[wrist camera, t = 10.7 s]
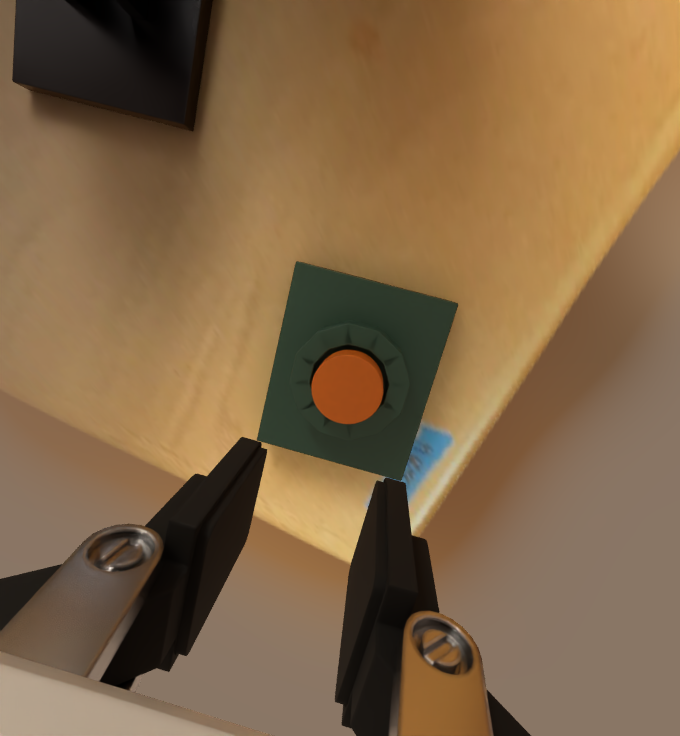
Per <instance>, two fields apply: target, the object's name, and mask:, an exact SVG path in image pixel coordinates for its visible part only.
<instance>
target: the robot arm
mask: <svg viewBox="0 0 680 736" xmlns="http://www.w3.org/2000/svg"><path fill="white" fill-rule="evenodd" d="M261 445H262V444H261V442H258V441H255V440H251V439H248V438H244V437H241V438H240V439H239V440H238V442H237V443H236V444H235V445H234V446H233V447H232V448H231V450H230V451H229V452H228V453H227V454H226V455H225V456H224V458H223V459H222V460H221V461H220V462H219V463H218V464H217V465H216V467H215V468H214V469H213V470H212V471H211V472H210V473H209V475H208V476H204V475H200V474H195V475H193V476H192V477H191V478H190V479H189V480H188V481H187V482H186V483H185V484H184V485H183V487H182V488H181V489H180V490H179V491H178V492H177V493H176V494H175V495H174V496H173V497H172V498H171V499H170V500H169V501H168V502H167V503H166V504H165V506H164V507H163V508H162V509H161V510H160V511H159V512H158V513H157V514H156V515H155V516H154V517H153V518H152V519H151V520H150V521H149V522H148V523H147V524H146V525H145V526H142V525H135V524H122V525H114V526H111V527H107V528H104V529H102V530H100V531H97V532H96V533H93V534H92V535H91V536H90V537H88V538H87V539H86V540H85V541H84V542H83V543H82V544H81V545H80V546H79V547H78V548H77V549H76V550H75V551H74V552H73V553H72V555H71V556H70V557H69V558H68V559H67V560H66V561H65V562H64V563H63V564H61V565H57V566H53V567H48V568H44V569H40V570H36V571H32V572H28V573H23V574H19V575H15V576H11V577H7V578H2V579H0V736H273V735H269V734H266V733H263V732H260V731H257V730H253V729H250V728H247V727H244V726H241V725H238V724H234V723H231V722H228V721H225V720H221V719H218V718H215V717H212V716H209V715H205V714H202V713H199V712H196V711H193V710H189V709H186V708H183V707H180V706H177V705H173V704H170V703H167V702H164V701H161V700H157V699H154V698H151V697H148V696H145V695H141V694H138V693H135V692H136V690H137V688H138V686H139V683H140V680H141V677H142V674H144V673H146V672H149V671H151V670H153V669H156V668H158V669H162V670H165V671H168V672H169V671H170V669H171V667H172V666H173V664H174V662H175V660H176V658H177V656H178V655H179V654H181V655H184V656H187V655H188V653H189V652H190V650H191V648H192V646H193V644H194V642H195V640H196V638H197V636H198V634H199V632H200V630H201V629H202V627H203V625H204V623H205V621H206V619H207V617H208V615H209V613H210V611H211V609H212V607H213V605H214V603H215V601H216V599H217V597H218V595H219V593H220V592H221V589H222V588H223V586H224V583H225V582H226V580H227V578H228V576H229V574H230V572H231V570H232V568H233V566H234V564H235V562H236V560H237V558H238V556H239V554H240V552H241V550H242V548H243V547H244V545H245V542H246V540H247V536H248V533H249V529H250V525H251V521H252V516H253V512H254V507H255V503H256V499H257V494H258V490H259V485H260V481H261V477H262V472H263V468H264V463H265V459H266V455H267V449H264V448H261ZM335 702H337V703H340V704H343V714H342V715H343V716H342V725H343V726H345V727H349V728H352V729H353V731H354V733H355V734H356V736H531V735H530V734H529V733H528V732H527V731H526V730H525V729H524V728H523V727H522V726H521V725H520V724H519V723H518V722H517V721H516V720H515V719H514V718H513V716H512V715H511V714H510V713H509V712H508V711H507V710H506V709H505V708H504V707H503V706H502V705H501V704H500V703H499V702H498V701H497V700H496V699H495V698H494V697H493V696H492V695H491V693H490V692H489V691H488V690H487V689H486V684H485V677H484V671H483V664H482V658H481V655H480V652H479V649H478V647H477V645H476V643H475V642H474V640H473V638H472V637H471V636H470V635H469V634H468V633H467V631H466V630H465V629H464V628H463V627H462V626H460V625H459V624H458V623H456V622H455V621H454V620H453V619H451V618H449V617H446V616H445V615H443V614H440V613H439V608H438V602H437V596H436V590H435V584H434V578H433V572H432V567H431V561H430V555H429V549H428V544H427V541H426V540H425V539H423V538H419V537H416V536H412V534H411V526H410V517H409V508H408V499H407V491H406V484H405V483H404V482H400V481H397V480H393V479H390V478H385V479H384V482H381V481H376V484H375V487H374V490H373V493H372V497H371V500H370V503H369V506H368V510H367V513H366V516H365V519H364V523H363V526H362V529H361V533H360V536H359V539H358V542H357V546H356V549H355V552H354V555H353V559H352V562H351V566H350V571H349V576H348V585H347V594H346V603H345V612H344V621H343V630H342V639H341V648H340V658H339V666H338V674H337V684H336V692H335Z"/></svg>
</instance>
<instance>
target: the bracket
mask: <svg viewBox="0 0 680 736" xmlns="http://www.w3.org/2000/svg"><path fill="white" fill-rule="evenodd" d="M212 1H213V0H16V14H15V35H14V57H13V78H12V80H13V82H15V83H17V84H18V85H20V86H22V87H24V88H26V89H28V90H30V91H34V92H38V93H42V94H46V95H50V96H54V97H58V98H62V99H66V100H70V101H74V102H78V103H82V104H85V105H89V106H93V107H97V108H101V109H105V110H109V111H113V112H117V113H121V114H125V115H129V116H133V117H137V118H141V119H145V120H149V121H153V122H157V123H161V124H165V125H169V126H173V127H177V128H181V129H185V130H189V131H193V130H194V124H195V117H196V110H197V103H198V96H199V90H200V83H201V76H202V69H203V62H204V56H205V49H206V42H207V35H208V29H209V22H210V15H211V8H212Z"/></svg>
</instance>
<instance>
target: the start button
mask: <svg viewBox="0 0 680 736" xmlns="http://www.w3.org/2000/svg"><path fill="white" fill-rule="evenodd" d="M311 391H312V397H313V400H314V403H315V405H316V407H317V408H318V409H319V411H320V412H321V413H322V414H323V415H324V416H326V417H327V418H328V419H330V420H332V421H334V422H337V423H341V424H355V423H359V422H362V421H364V420H366V419H368V418H369V417H370V416H372V415H373V414H374V413H375V412H376V410H377V409H378V407H379V406H380V404H381V401H382V397H383V377H382V373H381V370H380V368H379V366H378V365H377V363H376V362H375V361H374V360H373V359H372V358H371V357H370V356H368V355H367V354H365V353H363V352H360V351H357V350H341V351H337V352H335V353H333V354H331V355H330V356H328V357H327V358H326V359H325V360H324V361H323V362H322V364H321V365H320V366H319V368H318V369H317V371H316V373H315V375H314V377H313V380H312V386H311Z"/></svg>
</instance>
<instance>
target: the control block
mask: <svg viewBox="0 0 680 736" xmlns="http://www.w3.org/2000/svg"><path fill="white" fill-rule="evenodd" d="M457 307H458V303H455V302H452V301H449V300H445V299H441V298H437V297H433V296H430V295H426V294H422V293H418V292H414V291H411V290H407V289H403V288H399V287H395V286H391V285H388V284H384V283H380V282H376V281H372V280H369V279H365V278H361V277H357V276H353V275H349V274H346V273H342V272H338V271H334V270H330V269H327V268H323V267H319V266H315V265H311V264H307V263H304V262H298V261H296V264H295V268H294V273H293V278H292V282H291V287H290V291H289V296H288V300H287V305H286V310H285V314H284V319H283V323H282V328H281V332H280V337H279V342H278V346H277V351H276V355H275V360H274V364H273V369H272V373H271V378H270V383H269V387H268V392H267V396H266V401H265V405H264V410H263V415H262V419H261V424H260V428H259V433H258V437H257V440H258V441H261V442H265V443H268V444H272V445H275V446H279V447H283V448H286V449H290V450H293V451H297V452H300V453H304V454H307V455H311V456H314V457H318V458H322V459H325V460H329V461H332V462H336V463H339V464H343V465H346V466H350V467H353V468H357V469H361V470H364V471H368V472H371V473H375V474H378V475H382V476H385V477H389V478H392V479H396V480H400V481H401V480H402V477H403V474H404V471H405V468H406V465H407V462H408V459H409V456H410V453H411V450H412V446H413V443H414V440H415V437H416V434H417V431H418V428H419V425H420V422H421V419H422V415H423V412H424V409H425V406H426V403H427V400H428V397H429V394H430V391H431V388H432V384H433V381H434V378H435V375H436V372H437V369H438V366H439V363H440V360H441V357H442V353H443V350H444V347H445V344H446V341H447V338H448V335H449V332H450V329H451V326H452V322H453V319H454V316H455V313H456V310H457ZM341 350H357V351H360V352H363V353H365V354H367V355H368V356H370V357H371V358H372V359H373V360H374V361H375V362H376V363H377V365H378V366H379V368H380V370H381V373H382V377H383V397H382V401H381V404H380V406H379V407H378V409H377V410H376V412H375V413H374V414H373V415H372V416H370V417H369V418H368V419H366V420H364V421H362V422H359V423H355V424H341V423H337V422H334V421H332V420H330V419H328V418H327V417H326V416H324V415H323V414H322V413H321V412H320V411H319V409H318V408H317V407H316V405H315V403H314V400H313V397H312V391H311V386H312V380H313V377H314V375H315V373H316V371H317V369H318V368H319V366H320V365H321V364H322V362H323V361H324V360H325V359H326V358H327V357H328V356H330V355H331V354H333V353H335V352H337V351H341Z"/></svg>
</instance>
